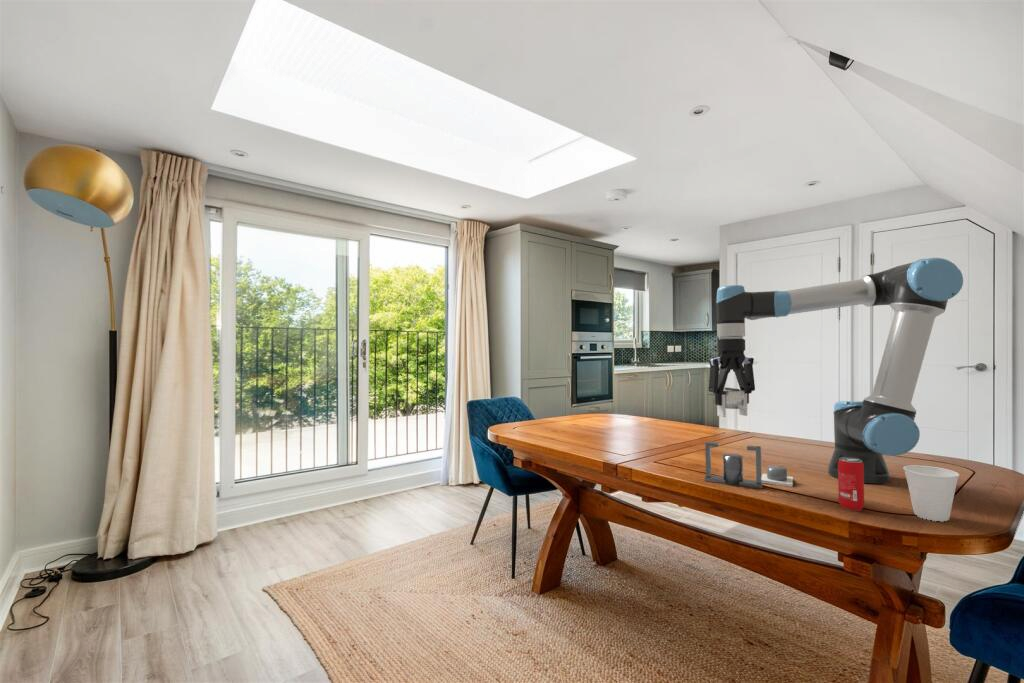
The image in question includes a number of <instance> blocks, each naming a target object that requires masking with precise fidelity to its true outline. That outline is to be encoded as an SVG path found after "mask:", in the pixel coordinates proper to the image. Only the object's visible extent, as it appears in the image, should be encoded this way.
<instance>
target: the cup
mask: <svg viewBox="0 0 1024 683" xmlns="http://www.w3.org/2000/svg"><path fill="white" fill-rule="evenodd" d="M902 469H903V470H904V472H905V478H906V482H907V485H908V487H907V488H908V491H909V495H910V501H911V505H912V509H913V513H914V515H915V516H916V515H917V517H918V518H920V519H922V518H923V519H922V520H926V519H927V521H930V520H932V521H931V522H936V521H940V523H944V521H945V522H947V521H949V520H950V518H951V513H952V507H953V503H954V499H955V498H954V497H955V492H956V489H957V483H958V479H959V477H960V476H961V475H960V473H959V472H956V471H955V470H951V469H947V468H943V467H936V466H929V465H922V464H921V465H920V464H919V465H918V464H912V465H911V464H910V465H904V466H903V467H902Z"/></svg>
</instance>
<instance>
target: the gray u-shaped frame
mask: <svg viewBox="0 0 1024 683" xmlns="http://www.w3.org/2000/svg"><path fill="white" fill-rule="evenodd" d="M704 445H705V447H704V448H705V450H704V451H705V476H704V481H705V482H712V483H717V484H718V483H719V484H725V485H728V486H736V487H737V486H741V487H748V488H758V489H763V485H764V483H763V482H762V474H763V473H762V446H757V445H756V446H755V445H747V446H746V450H747V451H752V452H753V451H754V452H755V471H756V472H755V473H756V474H755V475H756V477H755V480H753V479H745V478H744V472H743V471H744V467H743V466H744V462H743V458H744V457H743V455H741V454H737V453H725V454H722V459H723V460H722V464H723V469H722V471H723V472H722V473H723V476H722V475H713V474H712V448H718V447H719V446H720V444H719V442H714V441H705V444H704Z"/></svg>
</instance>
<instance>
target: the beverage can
mask: <svg viewBox="0 0 1024 683" xmlns="http://www.w3.org/2000/svg"><path fill="white" fill-rule="evenodd" d="M837 480H838V481H837V484H838V489H837V490H838V503H839V505H840V507H841V508H843V509H845V510H849V511H855V512H859V511H862V510H863V508H864V507H865V483H864V464H863V463H862V460H860V459H856V458H848V457H842V458H839V461H838V478H837Z"/></svg>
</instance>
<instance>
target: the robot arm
mask: <svg viewBox="0 0 1024 683" xmlns="http://www.w3.org/2000/svg"><path fill="white" fill-rule="evenodd" d="M963 286H964V277H963V273H962V271H961V269H960V268H959V267H958V266H957V265H956V264H955V263H954V262H952V261H950V260H948V259H945V258H943V257H942V258H941V257H929V258H920V259H918V260H916V261H913V262H909V263H905V264H901V265H897V266H895V267H892V268H889V269H886V270H885V269H884V270H882V271H879V272H876V273H871V274H864V275H862V276H860V278H859V279H853V280H848V281H841V282H834V283H828V284H822V285H813V286H809V287H802V288H795V289H788V290H772V291H771V290H770V291H746V290H745V286H743V285H741V284H739V285H736V284H735V285H734V284H733V285H724V286H723V285H722V286H719V287H718V288H717V291H716V301H715V304H716V334H717V336H716V337H718V339H717V340H716V341H717V342H716V346H717V347H716V348H717V349H716V350H717V351H718V354H717V357H714V358H709V359H708V363H709V366H710V367H709V380H708V392H709V393H712V394H714V403H715V404H714V405H716V408H717V409H716V410H717V411H716V413H717V417H722V418H726V417H727V416H726V415H727V414H726V409H727V408H725V395H724V394H723V390H724V389H725V388H726V383H727V379H728V376H729V374H730V372H731V371H733V372H734V374H735V378H736V381H737V383H738V386H739V390H744V391H745V405H747V406H748V405H749V404H750V395H749V394H752V392H755V390H756V385H755V377H754V376H755V374H754V367H753V365H754V360H755V359H754V357H747V356H746V355H745V351H746V339H745V338H744V337H745V336H746V320H749V321H755V320H760V319H766V318H779V317H787V316H790V315H794V314H802V313H808V312H809V313H810V312H816V311H817V312H818V311H822V310H830V309H838V308H844V307H851V306H858V305H863V306H865V307H869V308H870V307H875V306H889V307H890V308H891V309H892V310H893V311H894V314H893V317H892V321H891V325H890V328H889V331H888V334H887V335H888V336H887V339H886V342H885V346H884V350H883V354H882V357H881V360H880V363H879V364H880V365H879V367H878V372H877V376H876V380H875V382H874V386H873V389H872V390H873V391H872V393H871V394H870V395H868V396H867V397H865V398H863V400H862V401H858V400H857V401H854V400H853V401H851V400H850V401H845V400H843V401H836V402H835V403H834V406H833V413H832V414H833V426H834V427H833V429H834V432H833V434H834V450H833V453H832V455H831V458H830V460H829V463H828V466H827V467H828V468H827V469H828V470H827V471H828V475H829V476H832V477H834V478H836V479H838V461H839V458H842V457H848V458H856V459H860V460H862V463H863V464H864V484H886V483H889V482H891V474H890V471H889V467H888V465H887V463H886V461H885V458H884V455H886V456H893V457H894V456H900V455H904V454H906V453H908V452H910V451H912V450H913V449H914V448H915V447H916V446H917V444H918V443H919V440H920V434H921V433H920V428H919V427H918V425H917V423H916V422H915V418H916V415H917V410H916V409H915V407H914V406H913V405H912V401H913V398H914V394H915V391H916V387H917V385H918V380H919V375H920V373H921V369H922V365H923V361H924V359H925V355H926V351H927V347H928V343H929V341H930V337H931V334H932V330H933V327H934V323H935V319H936V317H939V316H940V315H942V314H944V313H945V312H946V308H947V305H948V301H949V300H951V299H953V298H954V297H955V296H957V295H958V294H959V293H960V292H961V290H962V288H963ZM738 415H740V416H746V417H747V416H748V409H747V410H742V409H738Z"/></svg>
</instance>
